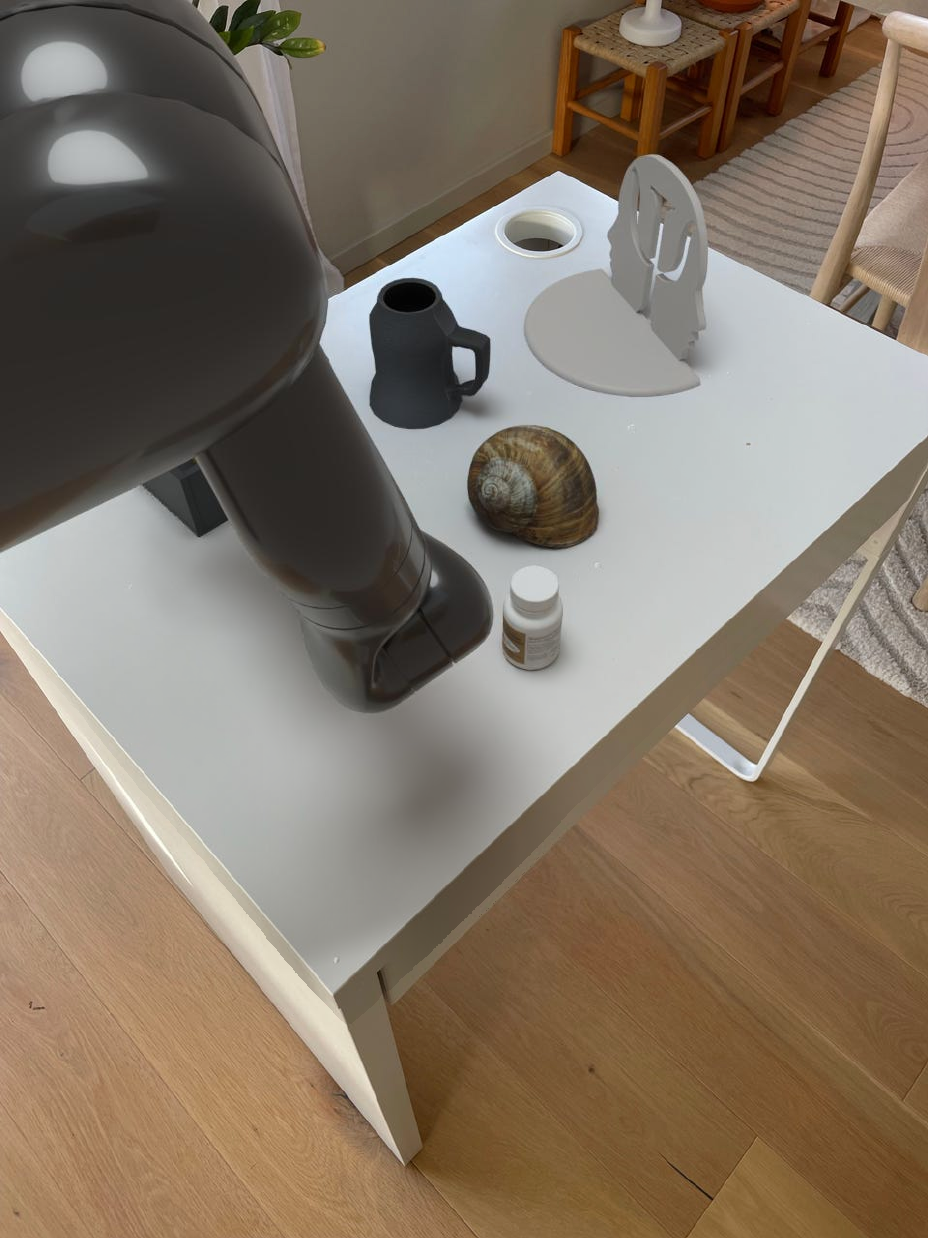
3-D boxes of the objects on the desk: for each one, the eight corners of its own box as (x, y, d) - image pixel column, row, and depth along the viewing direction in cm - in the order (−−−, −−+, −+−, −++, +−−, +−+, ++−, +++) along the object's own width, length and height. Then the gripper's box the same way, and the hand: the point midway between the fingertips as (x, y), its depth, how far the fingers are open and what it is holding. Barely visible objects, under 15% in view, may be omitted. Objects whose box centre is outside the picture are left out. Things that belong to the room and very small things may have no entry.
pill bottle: (494, 634, 74) (495, 568, 68) (547, 620, 75) (552, 554, 69) (512, 678, 72) (515, 613, 66) (567, 663, 73) (575, 598, 67)
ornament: (703, 385, 93) (739, 223, 80) (581, 419, 90) (598, 256, 77) (601, 270, 106) (618, 114, 93) (491, 297, 103) (493, 139, 90)
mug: (352, 414, 91) (339, 311, 82) (394, 360, 96) (386, 257, 88) (467, 446, 88) (466, 343, 79) (504, 389, 93) (507, 286, 84)
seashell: (448, 529, 82) (446, 458, 75) (496, 462, 87) (497, 391, 80) (570, 573, 78) (578, 503, 72) (612, 501, 83) (623, 430, 77)
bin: (199, 537, 81) (179, 480, 76) (122, 466, 87) (99, 409, 82) (313, 467, 87) (303, 409, 81) (234, 405, 92) (219, 347, 87)
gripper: (370, 374, 62) (269, 258, 70) (159, 453, 57) (79, 318, 66) (380, 462, 67) (285, 345, 76) (189, 539, 63) (111, 405, 72)
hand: (189, 333), depth 71 cm, fingers open, 8 cm apart
